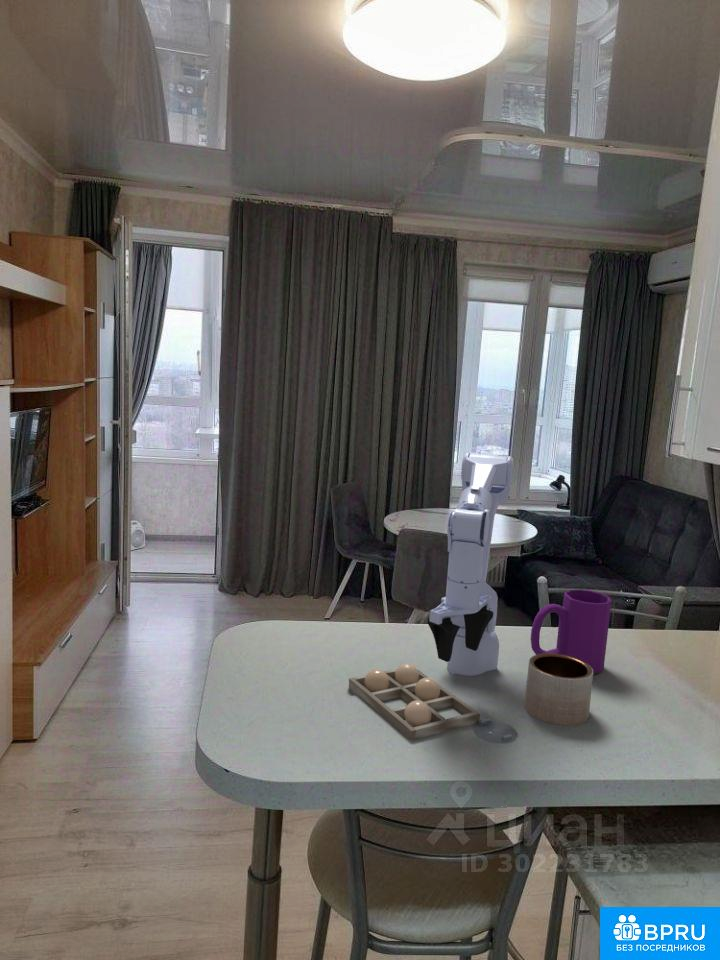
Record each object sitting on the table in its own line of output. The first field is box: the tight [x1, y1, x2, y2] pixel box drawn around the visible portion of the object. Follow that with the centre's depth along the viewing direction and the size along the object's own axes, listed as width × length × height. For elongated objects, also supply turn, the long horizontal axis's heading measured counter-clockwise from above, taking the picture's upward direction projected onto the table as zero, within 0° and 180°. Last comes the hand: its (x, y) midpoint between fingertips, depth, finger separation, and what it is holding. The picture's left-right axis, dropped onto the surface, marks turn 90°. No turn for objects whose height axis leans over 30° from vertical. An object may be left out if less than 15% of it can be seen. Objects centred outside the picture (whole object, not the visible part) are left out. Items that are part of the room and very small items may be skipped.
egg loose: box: [414, 677, 440, 702], centre depth 121 cm, size 4×4×4 cm
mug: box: [530, 589, 612, 675], centre depth 142 cm, size 9×16×15 cm, turn 96°
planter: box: [523, 653, 594, 726], centre depth 120 cm, size 11×11×10 cm
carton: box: [348, 668, 481, 741], centre depth 120 cm, size 14×20×3 cm
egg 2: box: [395, 662, 419, 686], centre depth 127 cm, size 4×4×4 cm
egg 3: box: [404, 700, 431, 727], centre depth 112 cm, size 4×4×4 cm
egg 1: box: [364, 668, 389, 693], centre depth 123 cm, size 4×4×4 cm
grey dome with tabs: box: [473, 718, 519, 744], centre depth 112 cm, size 7×7×2 cm
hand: (458, 654), depth 121 cm, fingers open, 7 cm apart
